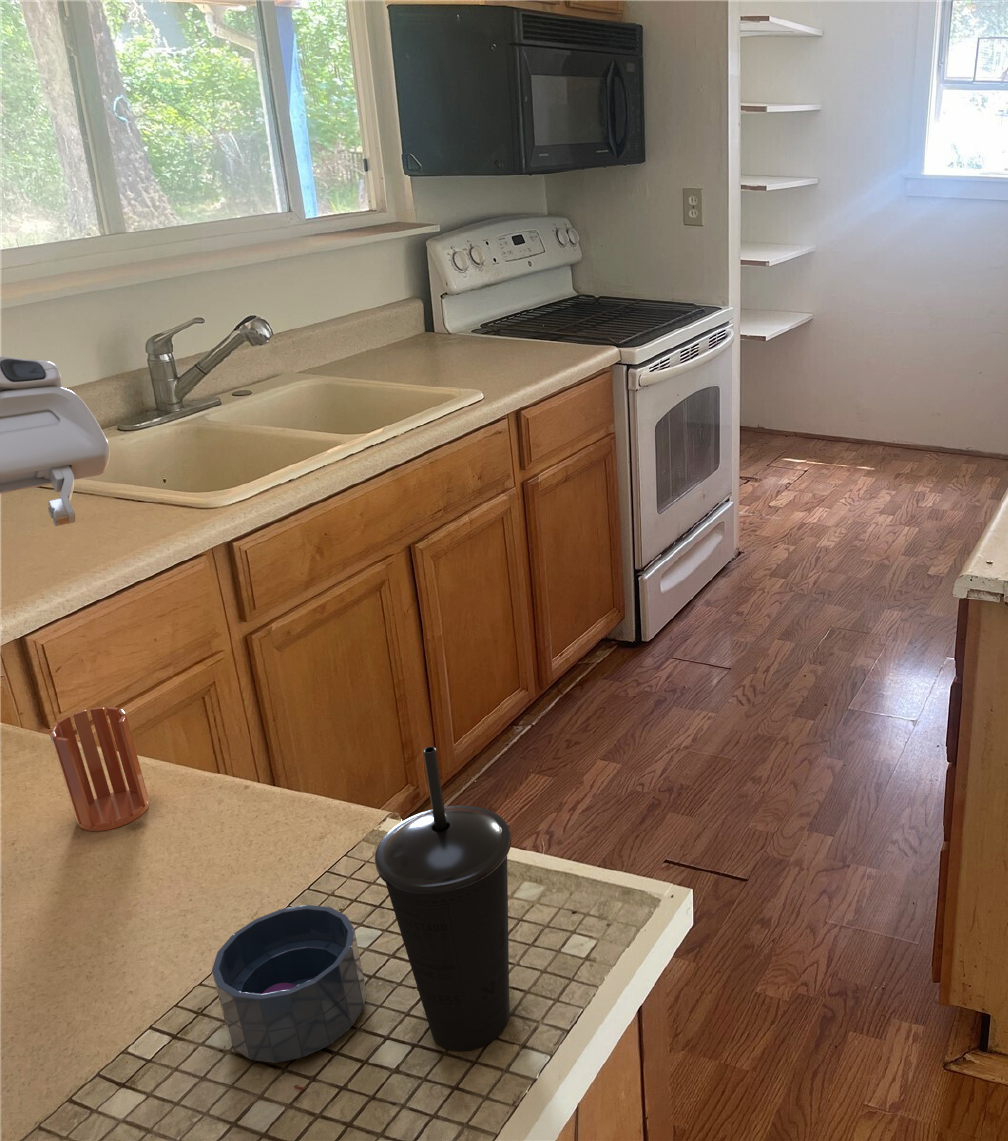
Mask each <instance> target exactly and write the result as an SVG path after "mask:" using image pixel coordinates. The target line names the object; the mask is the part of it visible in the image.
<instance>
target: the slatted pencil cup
mask: <svg viewBox="0 0 1008 1141" xmlns="http://www.w3.org/2000/svg"><path fill="white" fill-rule="evenodd" d="M89 712H90V715H91V719H92V722H93V726H94V730H95V733H96V736H97V739H98V743H99V746H100V750H101V753H102V757H103V761H104V764H105V768H106V771H107V774H108V778H109V781H110V785H111V788H112V792H111V790H110V786H109V783H108V781H107V780H108V779H107V777H106V774H105V770H104V766H103V763H102V760H101V756H100V753H99V750H98V746H97V742H96V739H95V736H94V732H93V729H92V725H91V722H90V718H89V714H88V712H87V709H83V710H79V711H77V712H74V713H71V716H72V719H73V722H72V720H71V716H69V715H67V716H64V717H63V718H61V719H59V720H58V721H56V723H55V724H53V725H52V726H51V728H50V730H49V737H50V740H51V744H52V747H53V751H54V754H55V757H56V760H57V763H58V767H59V770H60V773H61V775H62V779H63V783H64V786H65V790H66V793H67V796H68V799H69V802H70V805H71V809H72V812H73V816H74V818H75V820H76V823H77V825H78V827H79V828H80V829H82V830H85V831H90V832H102V831H108V830H113V829H116V828H119V827H122V826H125V825H128V824H130V823H131V822H133V821H135V820H137V819H138V818H140V817H141V816H142V815H143V814H145V813H146V811H147V810H148V808H149V806H150V800H149V794H148V790H147V787H146V783H145V780H144V775H143V772H142V769H141V764H140V760H139V757H138V753H137V750H136V747H135V743H134V739H133V736H132V732H131V729H130V728H131V727H130V725H129V721H128V717H127V714H126V712H125V711H124V710H123V709H120V708H119V707H115V706H108V707H106V708H105V706H99V707H91V708H90V709H89ZM73 723H74V726H75V730H76V733H77V736H76V733H75V730H74V726H73ZM77 737H78V740H79V742H78V740H77ZM79 743H80V744H79ZM79 745H80V746H81V749H80V747H79ZM81 750H82V753H83V757H84V760H85V763H84V761H83V757H82V754H81ZM85 764H86V766H85ZM86 767H87V770H86ZM87 771H88V773H87ZM88 774H89V777H90V780H89V777H88ZM90 781H91V783H90ZM91 784H92V787H93V790H92V787H91ZM93 791H94V794H95V796H94V794H93Z"/></svg>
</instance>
